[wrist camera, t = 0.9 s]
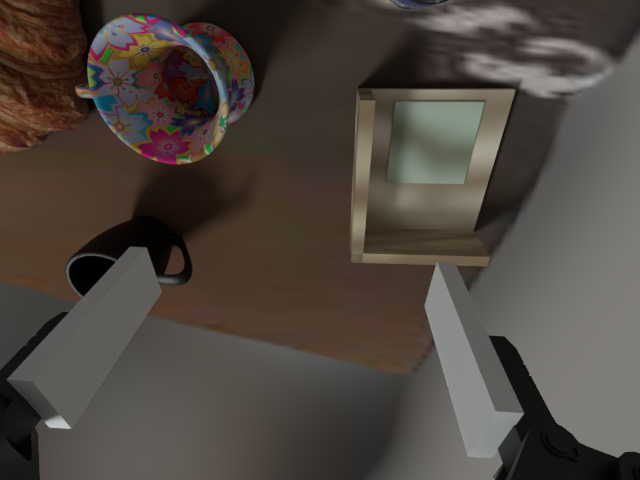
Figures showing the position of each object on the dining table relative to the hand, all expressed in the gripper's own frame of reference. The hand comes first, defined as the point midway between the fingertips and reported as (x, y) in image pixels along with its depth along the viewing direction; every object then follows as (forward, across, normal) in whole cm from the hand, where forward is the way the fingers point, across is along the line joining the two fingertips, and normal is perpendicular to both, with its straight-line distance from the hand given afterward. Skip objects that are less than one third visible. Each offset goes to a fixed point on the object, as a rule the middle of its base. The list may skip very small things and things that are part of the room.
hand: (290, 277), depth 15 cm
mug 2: (+22, -19, -13) cm, 32 cm away
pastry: (+22, -28, +6) cm, 36 cm away
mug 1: (+22, -12, +5) cm, 25 cm away
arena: (+22, +11, -3) cm, 24 cm away
